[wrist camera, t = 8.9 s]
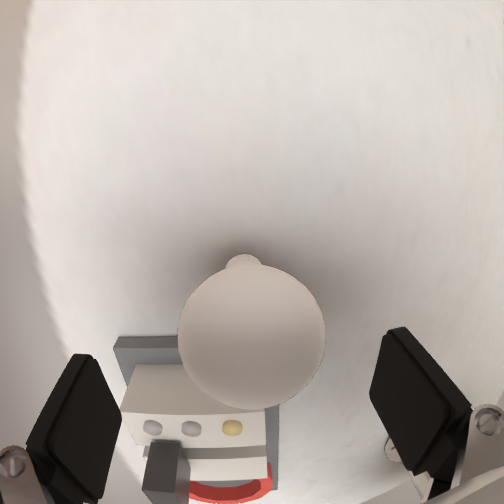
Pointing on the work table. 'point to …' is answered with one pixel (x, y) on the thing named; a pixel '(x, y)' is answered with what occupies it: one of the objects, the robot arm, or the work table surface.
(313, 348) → the lightbulb
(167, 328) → the work table surface
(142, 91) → the work table surface
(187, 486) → the block
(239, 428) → the multicoloured piece
